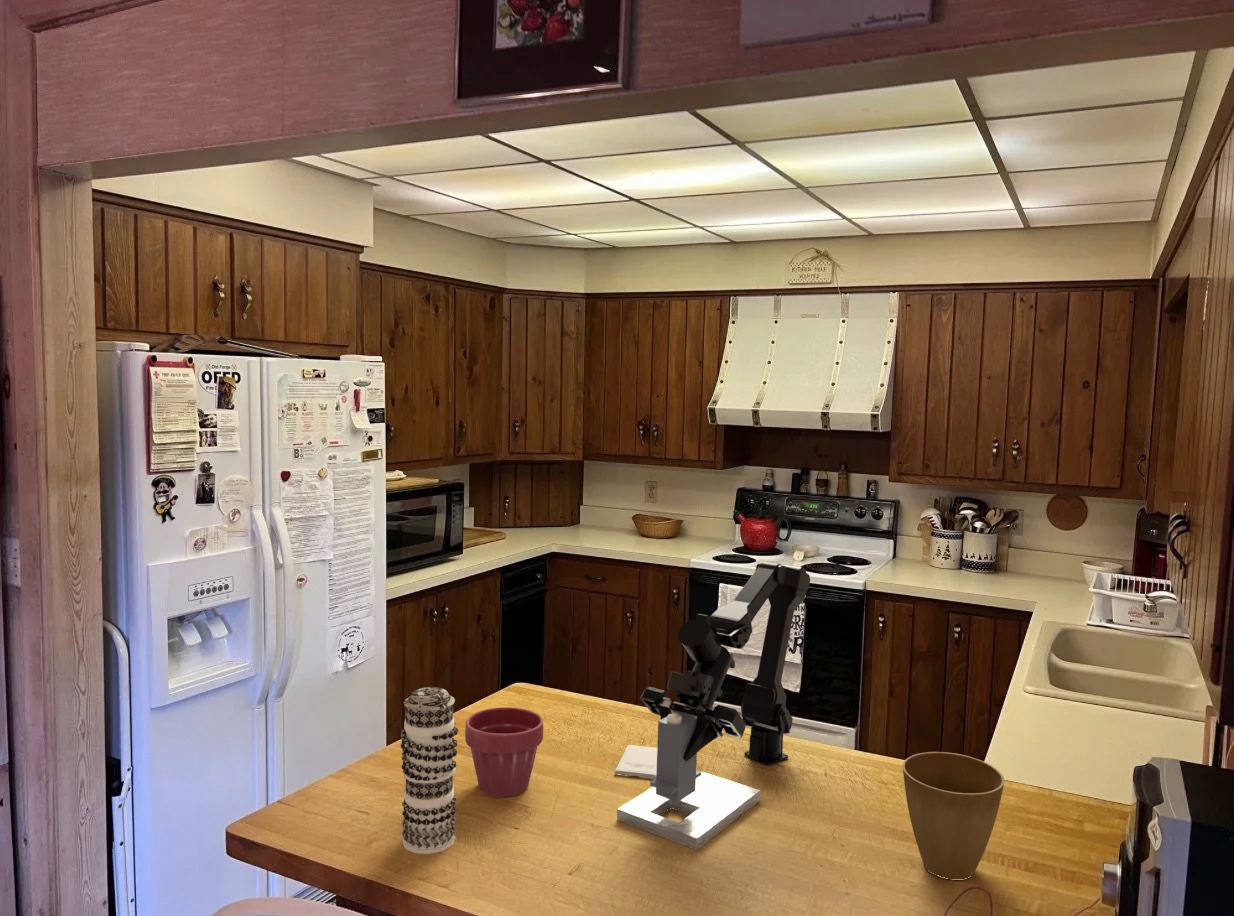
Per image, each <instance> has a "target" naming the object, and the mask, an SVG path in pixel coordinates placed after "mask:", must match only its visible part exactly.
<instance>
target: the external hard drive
mask: <svg viewBox="0 0 1234 916" xmlns="http://www.w3.org/2000/svg"><path fill="white" fill-rule="evenodd" d="M621 756H622V757H621V758H620V761H619V763H618V765H617V766H616V768H615V771H614V775H615V774H621V775H627V776H626V777H629V776H637V777H636V778H639V777H642V778H641V779H647V778H650V780H655V779H656V773H657V747H651V746H644V745H633V744H628V745H627V747H626V748H625V750H624V752H623V754H622V755H621Z"/></svg>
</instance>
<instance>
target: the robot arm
mask: <svg viewBox="0 0 1234 916" xmlns="http://www.w3.org/2000/svg"><path fill="white" fill-rule="evenodd" d="M810 576H811V575H810V574H809V573H807V570H806V569H805V568H804V567H802V566H796V565H794V566H793V565H790V564H789V565H788V564H787V565H786V564H782V563H778V562H771V561H764V560H763V561H759V562H758V563H757V565H756V566H755V571H754V573H752V575H751V576H750V578H749V579H748V580H747V582H746V583H744V586H743V587H742V588H741V590H740V591H739V592H738V593H737V595H736V596H735V598H734V599H732V601H731V602H730V603H728V604H725V605H722V606H720V607H718V609H716V610H715V611H714V612H713V613H712V614H711V615H710V616H709V615H706V614H702V613H697V615H696V617H695V618H693V619H690V620H688V621H687V622H686V623H684V624H683V625H682V626H681V627H680V628H679V631H678V639H679V641H680V643H681V645H682V646H683V647H684V649H685V651H687V653H688V655H689V656H690V658H691V659H692V660H693V661H694V662H695V664H694V666H693V668H692V670H689V669H688V670H687V671H686V673H680V672H676V671H670V674H669V677H668V681H667V685H666V690H668V691H674V693H673V695H674V696H675V698H678V700H675V699H672V698H671V696H670V695H669V694H668V692H667V691H666V690H664V689H660V688H655V687H652V686H648V687H646V688H645V689H644V690H643V692H642V694H641V695H640V698H639V700H641V701H642V703H643V704H644V705H645V707H646V708H647V710H649V712H650V713H652V714H654V715H657V716H660V720H662V719H664V718H665V717H667V716H668V715H669V714H673V713H675V712H679V713H682V714H685V715H688V716H692V717H695V718H697V724H696V729H695V731H694V733H693V735H692V738H691V740H690V742H689V744H688V746H687V748H686V751H685V754H684V757H683V759H684V760H685V761H688V760H689V759H690V758H692V757H693V756H694V755H695V754H696V753H697V754H698V753H699V752H700V751H701V750H702V749H703V748H704V747H706V746H707V745H708V744H710V743H711V742H713V741H714V740H716V739H717V738H723V735H724V733H725V734H726V735H727V736H731V737H734V738H737V739H742V737H743V736H744V733H745V731H746V727H750V735H749V744H748V745H749V747H748V748H749V750H747V751H743V752H744V754H743V755H745V756H746V757H748V758H750V759H752V760H755V761H757V762H759V763H761V764H763V765H766V766H770V765H773V764H775V763H778V762H781V761H783V760H786V759H788V758H789V755H788V754H787V753H785V752H784V751H783V747H784V734H787V735H788V734H790V733H791V730H792V726H793V717H792V715H791V713H790V711H789V710H788V708H787V706H786V704H787V695H786V692H785V689H784V687H783V683H782V678H783V673H784V668H785V662H786V656H787V653H788V646H789V641H790V635H791V630H792V629H791V628H792V626H793V625H792V624H793V620H794V613H795V611H796V609H797V608H798V607H799V606H800V605H801V604H802V603H803V602H804V601H805V599H806V595H807V592H808V590H809V588H810V586H811V585H810V584H811V577H810ZM767 600H768V602H769V605H770V606H769V613H768V618H767V623H766V627H765V633H764V638H763V643H762V648H761V649H762V650H761V653H760V654H761V655H760V659H759V660H760V661H759V664H758V671H757V675H756V677H755V678H754V679H753V680H752V681H751V683H750V682H748V683H747V684H746V685H745V687H744V691H743V692H744V694H743V698H742V700H741V704H740V712H741V715H740V714H739V711H737V709H736V708H732V707H730V706H729V707H728V706H724V705H720V704H717V705H716V706H714V704H715V701H716V699H717V698H718V697H719V698H721V697H722V695H723V690H722V689H721V688H722V685H723V683H724V680H725V679H726V676H727V673H728V671H729V669H735V667H736V662H735V660H734V657H733V656H734V655H733V653H732V652H730V651H729V650H728V648H733V649H737V650H742V649H743V648H744V647H745V646H746V644H747V643H748V642H749V641H750V638H751V636H752V633H753V624H752V622H753V620H754V619H755V617H756V616H757V614H758V612H759V611H760V610H761V609H762V607H763V606H764V604H765V603H766V602H767ZM726 647H728V648H726ZM713 706H714V708H713ZM723 731H724V733H723Z"/></svg>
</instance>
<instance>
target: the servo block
mask: <svg viewBox="0 0 1234 916" xmlns="http://www.w3.org/2000/svg"><path fill="white" fill-rule="evenodd" d="M696 724H697V718H695V717H692V716H688V715H685V714H682V713H679V712H675V713H673V714H669V715H668V716H667V717H665V718H664V719H662V720H661V719H660V720H658V722H657V744H656V745H657V747H656V748H657V773H656V779H652V781H650V782H649V786H650V787H651V788H652V787H655V788H656V794H657V795H659V796H662V797H665V798H667V799H670V800H672V801H675V802H679V801H681V800H682V799H684V798H685V797H687V796H688V795H690V794H691V793H693V792H694V791H695V787H696V778H698V777H699V776H701V774H702V772H703V771H701V770H698V769H697V761H698V760H697V759H698V758H697V757H698V752H697V753H696V754H695V755H694V756H693V757H692V758H690V759H689V760H688V761H685V760H684V759H683V757H684V754H685V751H686V748H687V746H688V744H689V742H690V740H691V738H692V735H693V733H694V731H695V729H696Z"/></svg>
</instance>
